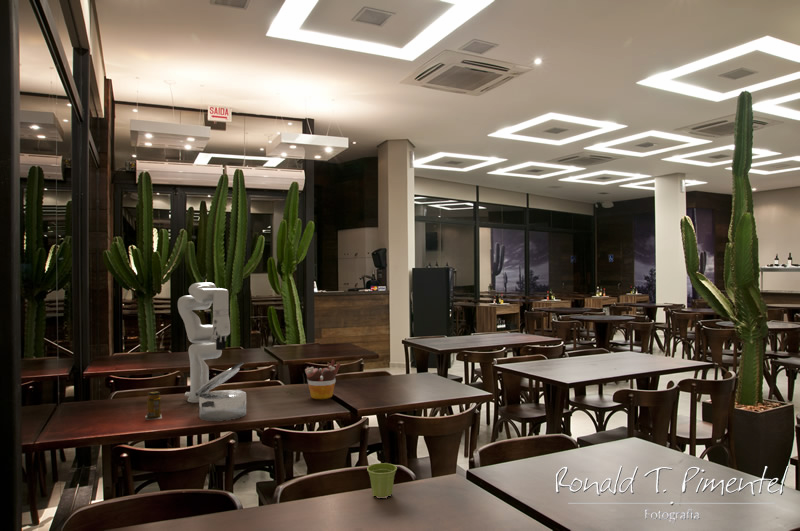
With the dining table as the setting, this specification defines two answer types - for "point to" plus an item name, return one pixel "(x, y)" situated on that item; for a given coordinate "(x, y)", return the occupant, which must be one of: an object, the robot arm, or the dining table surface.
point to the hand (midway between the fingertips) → (220, 349)
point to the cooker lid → (219, 379)
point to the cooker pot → (222, 405)
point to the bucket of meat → (322, 381)
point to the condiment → (153, 406)
